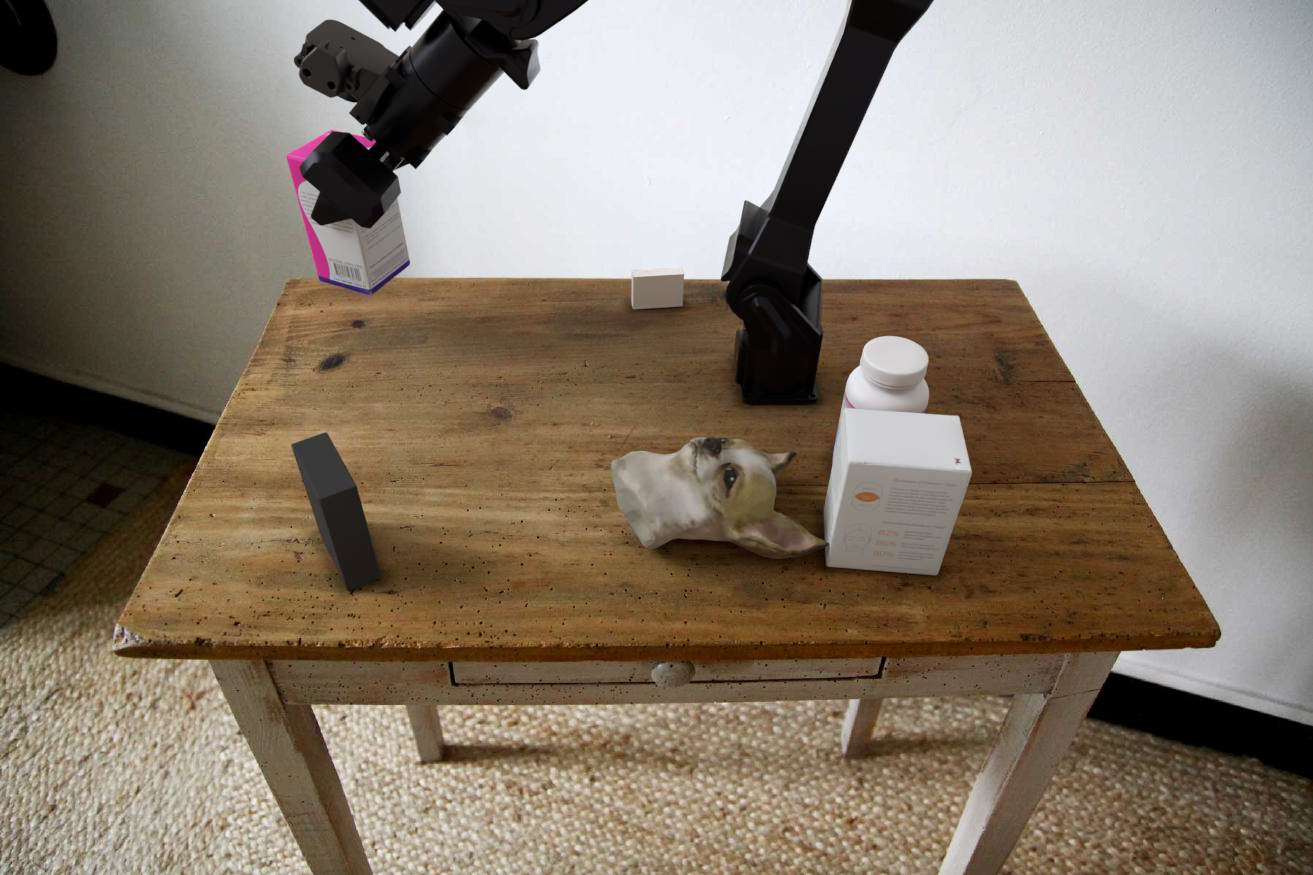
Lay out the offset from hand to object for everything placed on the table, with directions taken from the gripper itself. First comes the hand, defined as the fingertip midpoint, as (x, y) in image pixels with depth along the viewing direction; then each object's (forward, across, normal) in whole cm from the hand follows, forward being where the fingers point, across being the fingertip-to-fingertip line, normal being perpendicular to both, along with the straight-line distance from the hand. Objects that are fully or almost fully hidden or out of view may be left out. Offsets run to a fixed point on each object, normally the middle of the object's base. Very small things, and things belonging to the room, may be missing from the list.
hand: (334, 200), depth 76 cm
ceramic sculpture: (-14, +18, +34) cm, 41 cm away
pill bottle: (-22, +10, +42) cm, 49 cm away
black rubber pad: (+3, +26, +16) cm, 30 cm away
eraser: (-8, -10, +28) cm, 31 cm away
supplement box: (+4, 0, +6) cm, 7 cm away
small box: (-23, +18, +43) cm, 52 cm away
